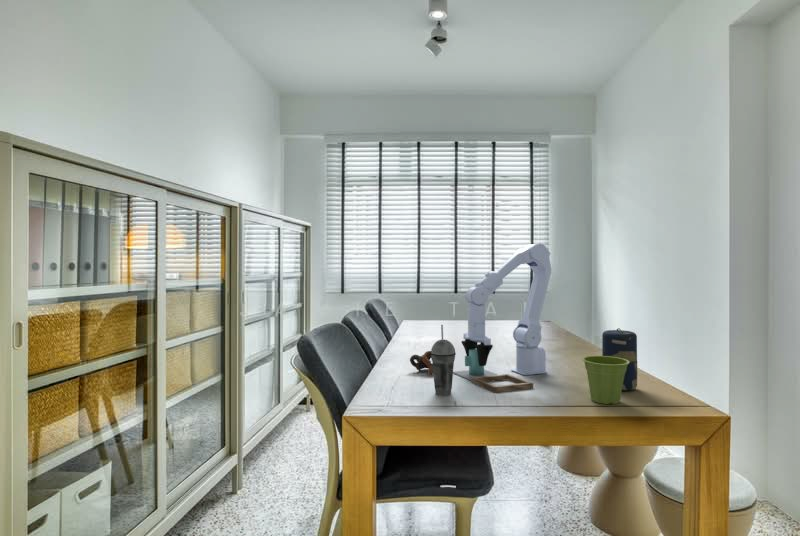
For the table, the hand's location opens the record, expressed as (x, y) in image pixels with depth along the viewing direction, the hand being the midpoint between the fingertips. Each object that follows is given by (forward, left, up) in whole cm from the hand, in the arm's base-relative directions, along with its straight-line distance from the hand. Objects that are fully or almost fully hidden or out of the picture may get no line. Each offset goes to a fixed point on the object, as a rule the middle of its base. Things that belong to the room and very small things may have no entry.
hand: (476, 363), depth 168 cm
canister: (-30, +32, -4) cm, 44 cm away
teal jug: (0, 0, -3) cm, 4 cm away
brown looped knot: (+13, -11, -4) cm, 18 cm away
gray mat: (0, 0, -4) cm, 4 cm away
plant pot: (-16, +41, -4) cm, 44 cm away
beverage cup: (+21, +17, -4) cm, 27 cm away
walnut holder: (0, +15, -4) cm, 15 cm away
